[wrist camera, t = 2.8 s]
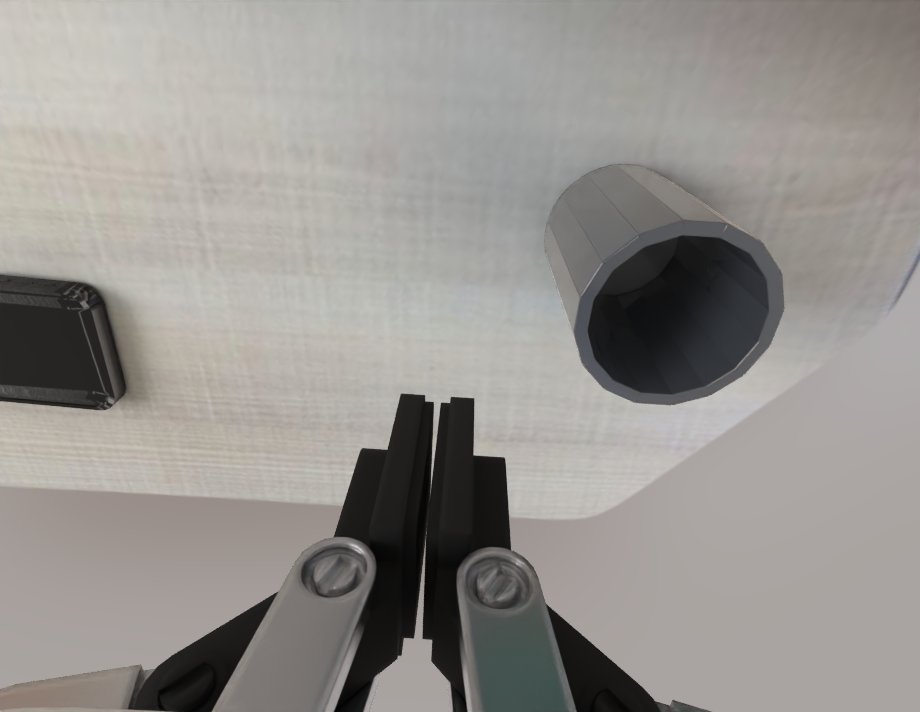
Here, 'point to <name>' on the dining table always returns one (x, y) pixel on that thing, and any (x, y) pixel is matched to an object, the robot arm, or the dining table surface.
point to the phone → (56, 345)
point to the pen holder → (659, 286)
